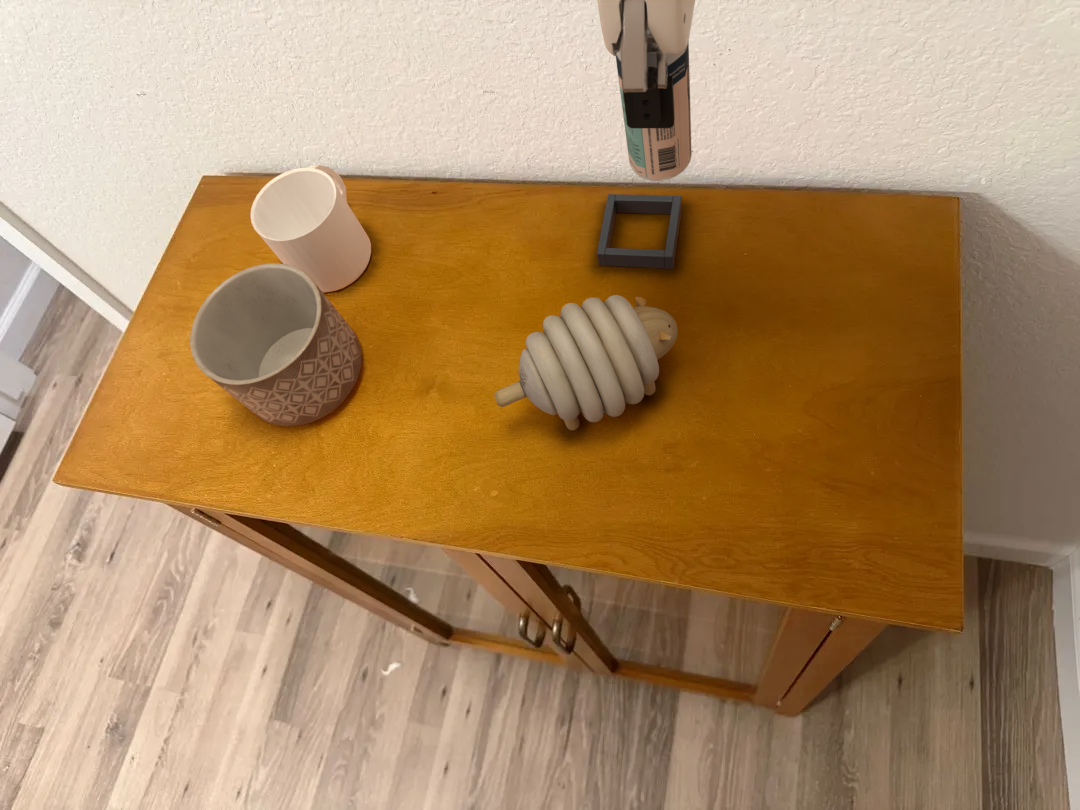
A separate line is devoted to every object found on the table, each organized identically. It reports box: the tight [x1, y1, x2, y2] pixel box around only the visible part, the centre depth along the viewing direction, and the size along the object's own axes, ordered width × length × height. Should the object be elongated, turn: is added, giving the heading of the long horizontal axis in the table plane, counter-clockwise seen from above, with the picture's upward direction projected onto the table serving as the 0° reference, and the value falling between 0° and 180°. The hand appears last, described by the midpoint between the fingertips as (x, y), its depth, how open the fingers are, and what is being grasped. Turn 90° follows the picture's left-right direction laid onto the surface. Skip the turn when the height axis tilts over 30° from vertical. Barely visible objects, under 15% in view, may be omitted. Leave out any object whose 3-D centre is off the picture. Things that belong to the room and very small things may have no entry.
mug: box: [249, 164, 372, 293], centre depth 81 cm, size 12×9×9 cm
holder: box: [596, 193, 683, 270], centre depth 77 cm, size 7×7×2 cm
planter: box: [189, 262, 363, 427], centre depth 74 cm, size 13×13×10 cm
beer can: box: [615, 30, 693, 182], centre depth 55 cm, size 5×5×12 cm
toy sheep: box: [494, 294, 679, 431], centre depth 66 cm, size 11×17×11 cm, turn 116°
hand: (655, 93), depth 54 cm, fingers closed on beer can, 4 cm apart
